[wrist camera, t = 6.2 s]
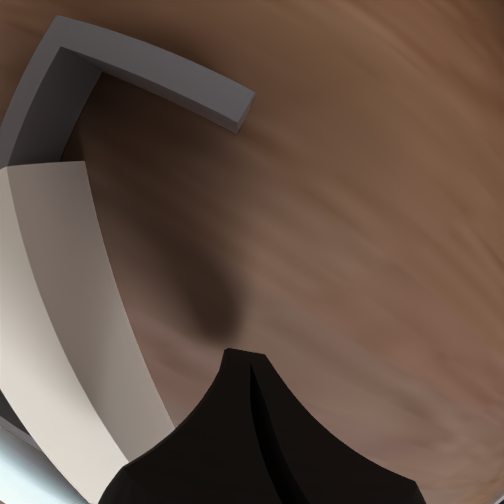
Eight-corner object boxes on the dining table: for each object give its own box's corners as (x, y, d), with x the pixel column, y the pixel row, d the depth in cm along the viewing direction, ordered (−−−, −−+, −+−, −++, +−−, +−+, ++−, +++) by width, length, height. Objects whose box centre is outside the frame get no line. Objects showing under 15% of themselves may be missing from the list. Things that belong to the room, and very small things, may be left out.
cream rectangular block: (87, 160, 10) (6, 166, 5) (178, 431, 13) (166, 510, 9) (14, 188, 10) (-68, 208, 5) (113, 433, 13) (89, 503, 9)
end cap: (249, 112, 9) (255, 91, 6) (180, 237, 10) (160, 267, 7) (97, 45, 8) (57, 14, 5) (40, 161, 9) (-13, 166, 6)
